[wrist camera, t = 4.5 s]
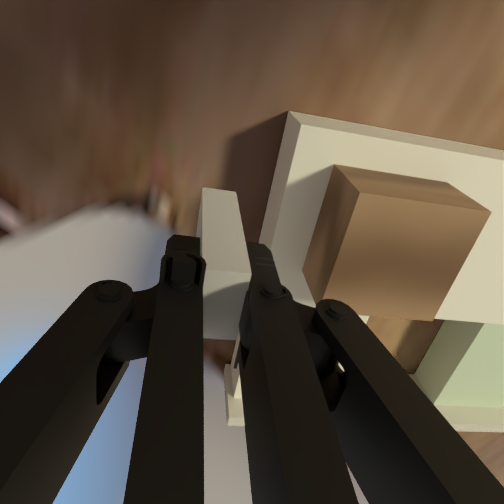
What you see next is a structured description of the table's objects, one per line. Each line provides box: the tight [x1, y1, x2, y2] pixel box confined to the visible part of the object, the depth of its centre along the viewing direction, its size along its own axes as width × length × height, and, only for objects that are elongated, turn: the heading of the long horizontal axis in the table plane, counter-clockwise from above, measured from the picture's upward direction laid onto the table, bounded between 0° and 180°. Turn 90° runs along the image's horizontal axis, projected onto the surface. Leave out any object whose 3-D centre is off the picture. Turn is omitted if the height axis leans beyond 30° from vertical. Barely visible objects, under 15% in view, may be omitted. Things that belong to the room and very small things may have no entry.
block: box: [302, 164, 492, 321], centre depth 19 cm, size 6×6×4 cm
